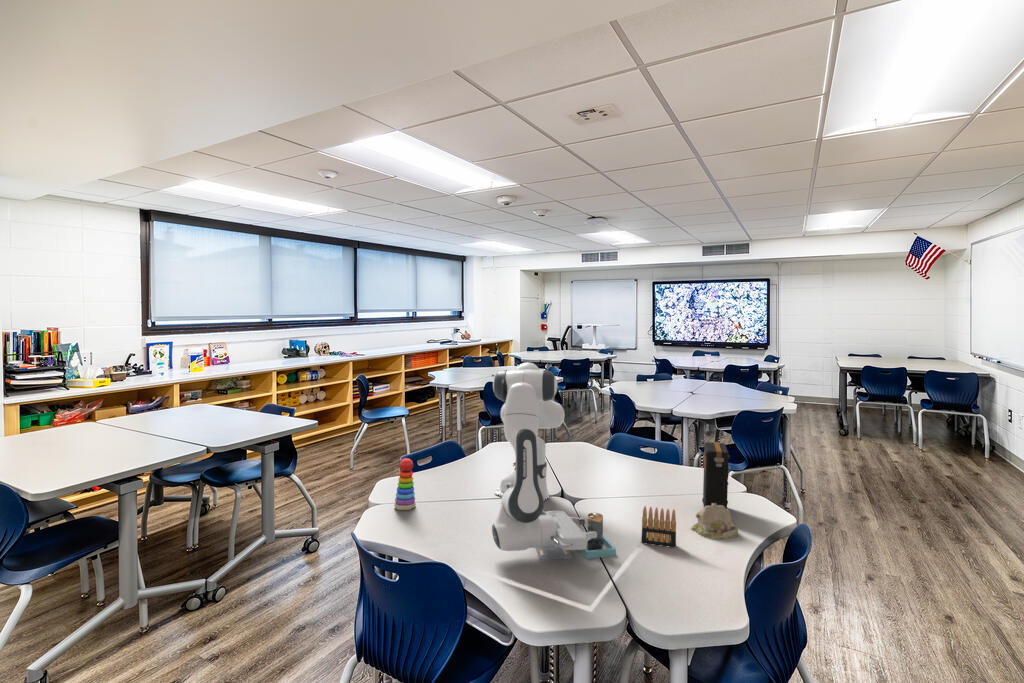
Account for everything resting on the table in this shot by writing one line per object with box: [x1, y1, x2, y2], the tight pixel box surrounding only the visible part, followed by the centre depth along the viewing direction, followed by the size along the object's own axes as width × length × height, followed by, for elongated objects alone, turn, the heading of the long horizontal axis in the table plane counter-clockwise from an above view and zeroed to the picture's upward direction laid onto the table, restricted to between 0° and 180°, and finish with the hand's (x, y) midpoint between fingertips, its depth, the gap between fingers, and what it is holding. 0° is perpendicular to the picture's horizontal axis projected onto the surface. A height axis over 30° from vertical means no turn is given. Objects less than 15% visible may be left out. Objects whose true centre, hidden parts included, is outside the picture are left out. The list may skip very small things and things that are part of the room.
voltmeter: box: [701, 441, 730, 509], centre depth 182 cm, size 16×9×25 cm, turn 161°
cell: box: [586, 512, 604, 551], centre depth 149 cm, size 5×5×12 cm
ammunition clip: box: [640, 505, 677, 548], centre depth 156 cm, size 11×2×12 cm, turn 73°
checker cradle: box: [535, 545, 573, 561], centre depth 148 cm, size 10×8×1 cm
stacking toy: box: [393, 457, 417, 511], centre depth 185 cm, size 8×8×19 cm
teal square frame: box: [579, 535, 617, 560], centre depth 149 cm, size 9×9×3 cm
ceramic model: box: [690, 503, 739, 540], centre depth 165 cm, size 14×11×10 cm
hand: (589, 527), depth 149 cm, fingers open, 8 cm apart
